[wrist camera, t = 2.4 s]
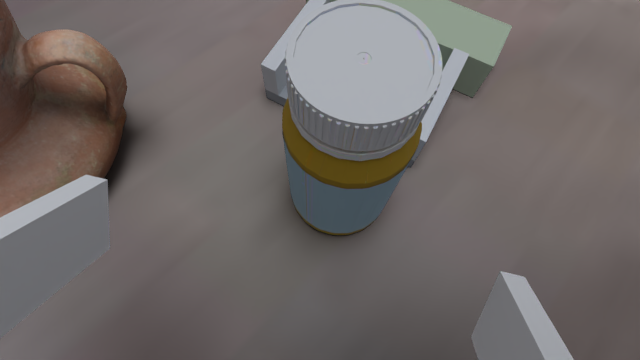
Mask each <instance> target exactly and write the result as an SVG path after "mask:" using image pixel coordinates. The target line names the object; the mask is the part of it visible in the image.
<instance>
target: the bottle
mask: <svg viewBox="0 0 640 360" xmlns="http://www.w3.org/2000/svg"><path fill="white" fill-rule="evenodd" d="M285 53H286V56H285V73H286V83H287V93H288V98H287V100H286V103H285V105H284V108H283V119H282V128H283V140H284V147H285V154H286V162H287V169H288V176H289V184H290V191H291V196H292V200H293V203H294V206H295V208H296V210H297V212H298V213H299V215H300V216H301V217H302V219H303V220H304V221H305V222H306V223H307V224H309V225H310V226H312V227H313V228H315V229H316V230H318V231H321V232H324V233H327V234H331V235H349V234H353V233H355V232H358V231H361V230H363V229H365V228H366V227H367V226H369V225H370V224H371V223H373V222H374V221H375V220H376V218H377V217H378V216H379V214H380V213H381V211H382V210H383V208H384V207H385V205H386V203H387V201H388V200H389V198H390V196H391V194H392V193H393V191H394V189H395V187H396V186H397V184H398V182H399V180H400V179H401V177H402V175H403V173H404V172H405V170H406V168H407V166H408V165H409V163H410V161H411V159H412V158H413V156H414V154H415V152H416V149H417V147H418V145H419V141H420V136H421V132H422V122H421V121H422V119H423V118H424V116H425V114H426V112H427V110H428V108H429V106H430V104H431V102H432V100H433V98H434V97H435V95H436V93H437V91H438V87H439V85H440V80H441V78H442V55H441V51H440V48H439V45H438V43H437V41H436V39H435V37H434V35H433V34H432V32H431V31H430V30H429V28H428V27H427V26H426V25H425V24H424V23H423V22H422V21H421V20H420V19H419V18H417V17H416V16H415V15H413V14H412V13H410V12H409V11H407V10H405V9H404V8H402V7H399V6H397V5H395V4H392V3H389V2H386V1H382V0H337V1H333V2H330V3H327V4H325V5H323V6H320V7H318V8H317V9H315V10H313V11H312V12H310V13H309V14H308V15H306V16H305V17H304V18H303V19H302V20H301V21H300V22H299V23H298V25H297V26H296V27H295V29H294V30H293V32H292V34H291V36H290V39H289V41H288V44H287V49H286V51H285Z"/></svg>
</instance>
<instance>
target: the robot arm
mask: <svg viewBox="0 0 640 360" xmlns="http://www.w3.org/2000/svg"><path fill="white" fill-rule="evenodd" d="M109 249H110V231H109V205H108V180H107V179H103V178H99V177H94V176H90V175H84V176H82V177H80V178H78V179H76V180H74V181H72V182H70V183H68V184H66V185H64V186H62V187H60V188H58V189H56V190H54V191H52V192H50V193H48V194H46V195H44V196H42V197H40V198H38V199H36V200H34V201H32V202H30V203H28V204H26V205H24V206H22V207H20V208H18V209H16V210H14V211H12V212H10V213H8V214H6V215H4V216H2V217H0V338H1V337H3V336H4V335H5V334H6V333H7V332H9V331H10V330H11V329H12V328H14V327H15V326H16V325H17V324H18V323H20V322H21V321H22V320H23V319H25V318H26V317H27V316H28V315H29V314H31V313H32V312H33V311H34V310H36V309H37V308H38V307H39V306H40V305H42V304H43V303H44V302H45V301H47V300H48V299H49V298H50V297H51V296H53V295H54V294H55V293H56V292H58V291H59V290H60V289H61V288H62V287H64V286H65V285H66V284H67V283H68V282H70V281H71V280H72V279H73V278H75V277H76V276H77V275H78V274H79V273H81V272H82V271H83V270H84V269H86V268H87V267H88V266H89V265H90V264H92V263H93V262H94V261H95V260H97V259H98V258H99V257H100V256H101V255H103V254H104V253H105V252H106V251H108V250H109ZM471 338H472V342H473V345H474V348H475V352H476V355H477V358H478V360H574V359H573V357H572V356H571V354H570V352H569V351H568V349H567V347H566V346H565V344H564V342H563V341H562V339H561V337H560V336H559V334H558V332H557V331H556V329H555V327H554V325H553V324H552V322H551V320H550V319H549V317H548V315H547V314H546V312H545V310H544V309H543V307H542V305H541V304H540V302H539V300H538V299H537V297H536V295H535V293H534V292H533V290H532V288H531V287H530V285H529V283H528V282H527V280H526V278H525V277H523V276H519V275H515V274H510V273H506V272H502V271H500V272H499V275H498V277H497V279H496V281H495V284H494V286H493V288H492V290H491V293H490V295H489V297H488V299H487V302H486V304H485V306H484V308H483V311H482V313H481V315H480V317H479V320H478V322H477V324H476V326H475V329H474V331H473V333H472V335H471Z"/></svg>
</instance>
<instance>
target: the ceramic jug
mask: <svg viewBox="0 0 640 360" xmlns="http://www.w3.org/2000/svg"><path fill="white" fill-rule="evenodd" d="M126 91H127V85H126V78H125V75H124V73H123V71H122V69H121V67H120V65H119V63H118V62H117V60H116V59H115V58H114V57H113V55H112V54H111V53H110V52H109V51H108V50H107V49H106V48H105V47H104V46H102V45H101V44H100V43H99V42H97V41H96V40H95V39H93V38H91V37H89V36H88V35H86V34H84V33H81V32H77V31H73V30H53V31H46V32H42V33H39V34H37V35H35V36H33V37H32V38H31V39H29V40H26V39H25V38H24V37H23V36H22V35H21V34H20V31H19V29H18V27H17V25H16V23H15V21H14V18H13V17H12V15H11V13H10V11H9V9H8V7H7V5H6V3H5V1H4V0H0V217H2V216H4V215H6V214H8V213H10V212H12V211H14V210H16V209H18V208H20V207H22V206H24V205H26V204H28V203H30V202H32V201H34V200H36V199H38V198H40V197H42V196H44V195H46V194H48V193H50V192H52V191H54V190H56V189H58V188H60V187H62V186H64V185H66V184H68V183H70V182H72V181H74V180H76V179H78V178H80V177H82V176H84V175H90V176H94V177H99V178H103V179H104V178H105V176H106V175H107V173H108V171H109V170H110V168H111V166H112V164H113V162H114V160H115V157H116V154H117V152H118V148H119V145H120V140H121V137H122V132H123V130H122V129H123V126H124V123H125V119H126V112H125V110H124V108H123V103H124V99H125V95H126Z"/></svg>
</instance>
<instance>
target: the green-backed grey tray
mask: <svg viewBox="0 0 640 360" xmlns="http://www.w3.org/2000/svg"><path fill="white" fill-rule="evenodd" d="M333 1H337V0H306V5H305V6H304V8H303V9H302V10H301V12H300V13H299V14H298V16H297V17H296V18H295V20H294V21H293V22H292V24H291V25H290V26H289V28H288V29H287V30H286V32H285V33H284V34H283V36H282V37H281V38H280V40H279V41H278V42H277V44H276V45H275V46H274V48H273V49H272V50H271V52H270V53H269V54H268V55H267V57H266V58H265V59H264V61H263V62H262V63H261V68H262V74H263V79H264V85H265V90H266V96H267V98H268V99H270V100H272V101H275V102H277V103H279V104H281V105H283V106H284V105H285V103H286V100H287V98H288V93H287V83H286V73H285V56H286V53H285V51H286V49H287V44H288V41H289V39H290V36H291V34H292V32H293V30H294V29H295V27H296V26H297V25H298V23H299V22H300V21H301V20H302V19H303V18H304V17H305V16H306V15H308V14H309V13H310V12H312V11H313V10H315V9H317V8H318V7H320V6H323V5H325V4H327V3H330V2H333ZM382 1H386V2H389V3H392V4H395V5H397V6H399V7H402V8H404V9H405V10H407V11H409V12H410V13H412V14H413V15H415V16H416V17H417V18H419V19H420V20H421V21H422V22H423V23H424V24H425V25H426V26H427V27H428V28H429V30H430V31H431V32H432V34H433V35H434V37H435V39H436V41H437V43H438V45H439V48H440V51H441V55H442V78H441V80H440V85H439V87H438V91H437V93H436V95H435V97H434V98H433V100H432V102H431V104H430V106H429V108H428V110H427V112H426V114H425V116H424V118H423V119H422V121H421V122H422V132H421V136H420V141H419V145H418V147H417V149H416V152H415V154H414V156H413V158H412V159H411V161H410V163H409V165H408V167H410V168H411V166H412V165H413V163H414V161H415V160H416V158H417V156H418V155H419V153H420V151H421V150H422V148H423V146H424V145H425V143H426V141H427V139H428V137H429V135H430V133H431V131H432V129H433V127H434V125H435V123H436V121H437V119H438V117H439V115H440V113H441V111H442V109H443V107H444V105H445V103H446V101H447V99H448V97H449V94H450V92H451V90H452V89H454V90H456V91H459V92H461V93H463V94H465V95H468V96H470V97H472V98H473V96H474V95H475V93H476V92H477V90H478V89H479V87H480V86H481V84H482V83H483V82H484V80H485V79H486V77H487V76H488V74H489V73H490V71H491V70H492V68H493V67H494V65H495V63H496V60H497V58H498V56H499V54H500V52H501V49H502V47H503V45H504V43H505V41H506V38H507V36H508V34H509V32H510V30H511V27H512V26H511V25H508V24H506V23H503V22H501V21H498V20H496V19H493V18H491V17H488V16H486V15H483V14H481V13H478V12H476V11H473V10H471V9H468V8H466V7H463V6H461V5H458V4H456V3H453V2H451V1H448V0H382Z"/></svg>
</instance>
